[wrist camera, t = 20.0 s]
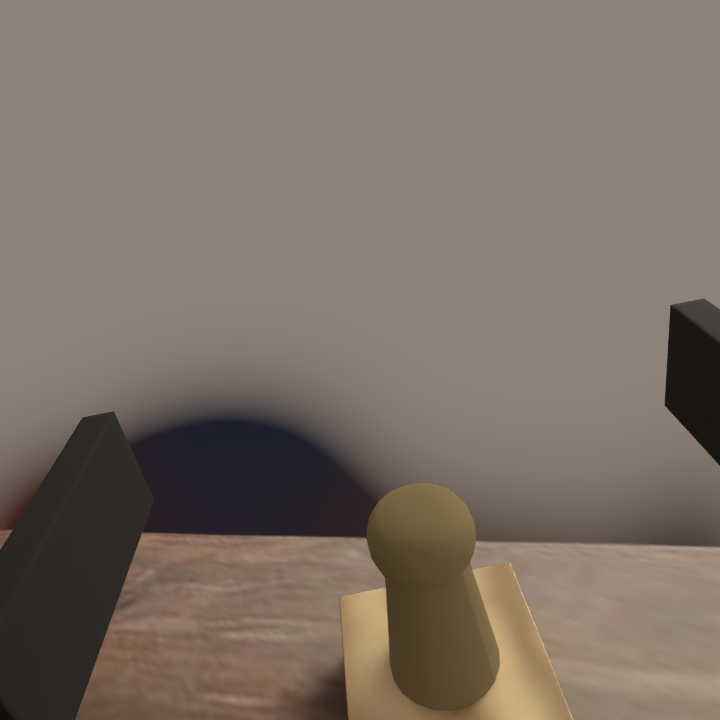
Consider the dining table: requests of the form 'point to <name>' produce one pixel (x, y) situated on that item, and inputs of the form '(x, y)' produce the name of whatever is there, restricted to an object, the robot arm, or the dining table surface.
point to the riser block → (516, 651)
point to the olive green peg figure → (433, 597)
